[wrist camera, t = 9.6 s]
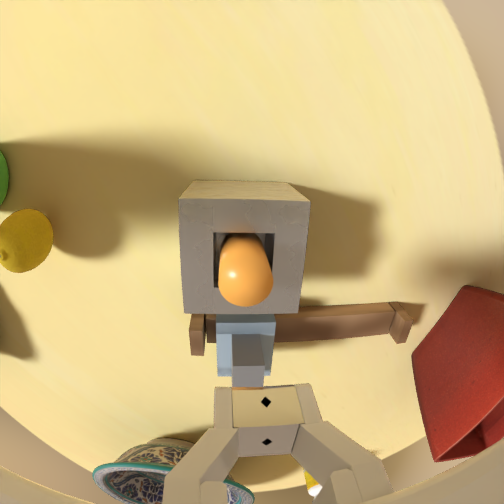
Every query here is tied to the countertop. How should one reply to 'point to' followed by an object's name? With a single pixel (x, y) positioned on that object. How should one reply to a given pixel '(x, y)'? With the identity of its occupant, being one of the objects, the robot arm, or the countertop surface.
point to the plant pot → (463, 376)
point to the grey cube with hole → (242, 221)
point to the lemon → (25, 240)
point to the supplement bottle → (312, 484)
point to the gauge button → (244, 270)
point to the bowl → (153, 473)
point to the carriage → (245, 347)
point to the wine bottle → (3, 178)
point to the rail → (319, 324)
